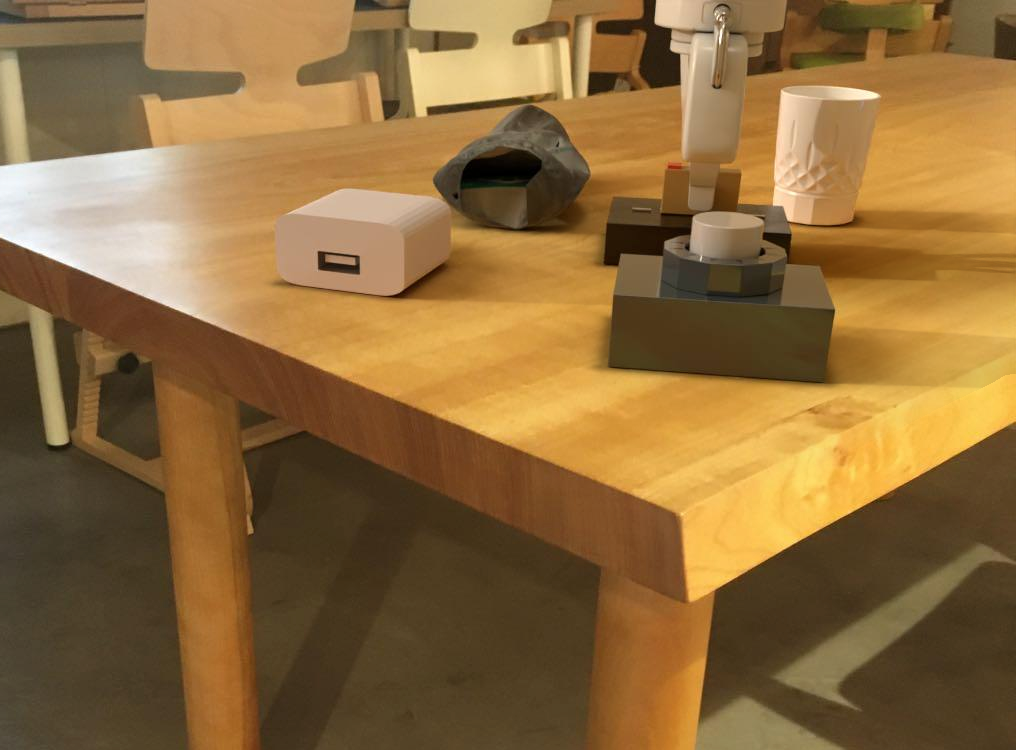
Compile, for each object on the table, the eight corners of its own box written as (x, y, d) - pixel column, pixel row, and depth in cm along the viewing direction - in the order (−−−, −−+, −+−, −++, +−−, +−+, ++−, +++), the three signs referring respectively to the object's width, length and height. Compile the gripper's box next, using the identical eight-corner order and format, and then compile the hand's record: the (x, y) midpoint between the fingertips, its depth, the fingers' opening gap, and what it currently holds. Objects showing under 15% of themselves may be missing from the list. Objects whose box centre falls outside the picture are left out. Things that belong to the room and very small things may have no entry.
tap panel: (777, 243, 97) (783, 202, 95) (786, 277, 88) (793, 232, 87) (610, 233, 98) (613, 193, 97) (603, 265, 90) (606, 221, 88)
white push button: (757, 248, 73) (762, 213, 72) (761, 266, 69) (766, 229, 68) (688, 244, 73) (692, 209, 72) (688, 262, 70) (692, 225, 69)
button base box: (809, 332, 77) (824, 236, 74) (823, 382, 69) (841, 276, 66) (615, 319, 79) (623, 224, 76) (607, 366, 71) (615, 262, 68)
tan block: (735, 213, 92) (741, 165, 91) (736, 217, 91) (742, 169, 89) (660, 209, 93) (665, 161, 91) (660, 213, 92) (664, 165, 90)
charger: (478, 245, 94) (403, 298, 81) (366, 233, 97) (276, 282, 84) (480, 181, 92) (403, 226, 79) (365, 170, 94) (273, 211, 82)
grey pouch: (579, 237, 96) (611, 169, 118) (577, 141, 93) (610, 89, 114) (414, 239, 99) (475, 172, 120) (406, 146, 96) (470, 94, 117)
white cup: (822, 203, 110) (840, 84, 105) (879, 224, 103) (902, 98, 99) (746, 209, 107) (761, 87, 102) (801, 230, 101) (820, 101, 96)
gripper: (777, 14, 76) (749, 241, 82) (760, -8, 94) (737, 179, 100) (673, 10, 76) (653, 235, 83) (675, -12, 94) (659, 175, 101)
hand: (699, 204), depth 92 cm, fingers closed on tan block
